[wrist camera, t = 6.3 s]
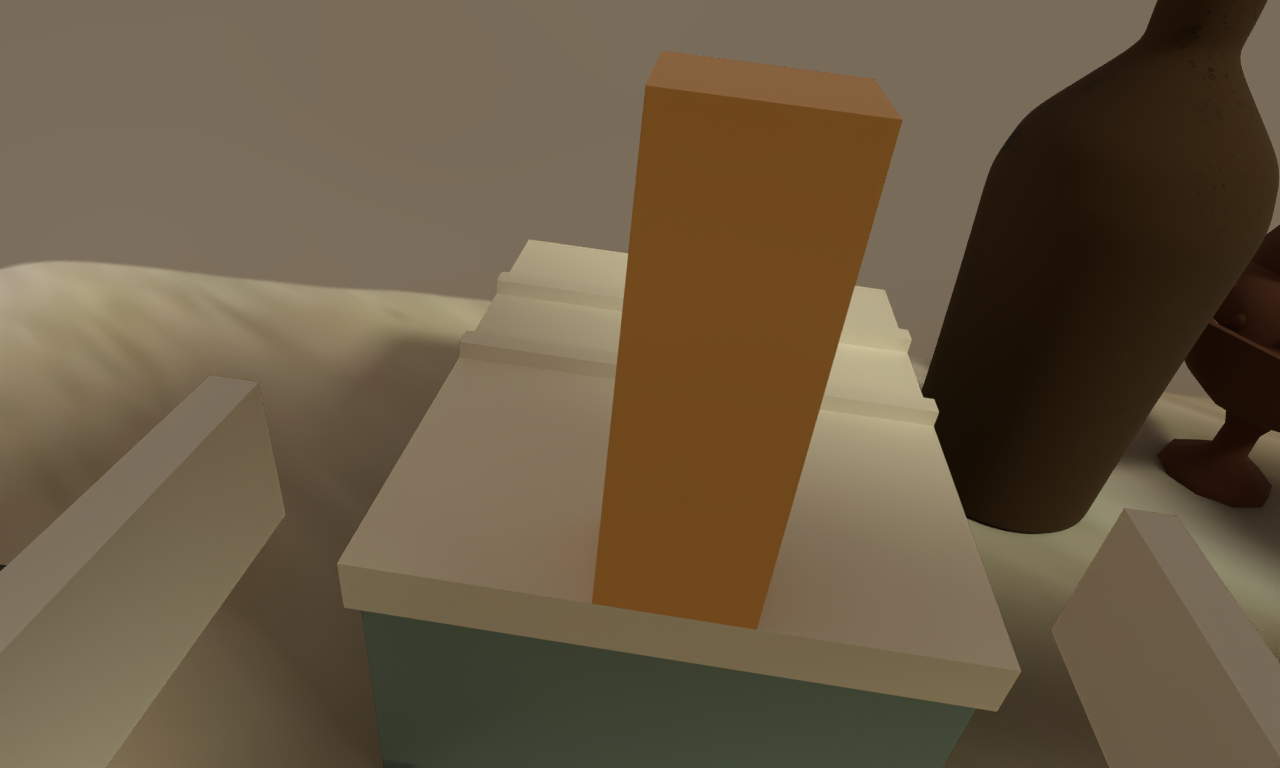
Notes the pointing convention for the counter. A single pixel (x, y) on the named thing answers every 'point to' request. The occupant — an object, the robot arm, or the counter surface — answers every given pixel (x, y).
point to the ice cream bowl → (1236, 386)
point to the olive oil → (1099, 265)
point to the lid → (703, 423)
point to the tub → (624, 709)
